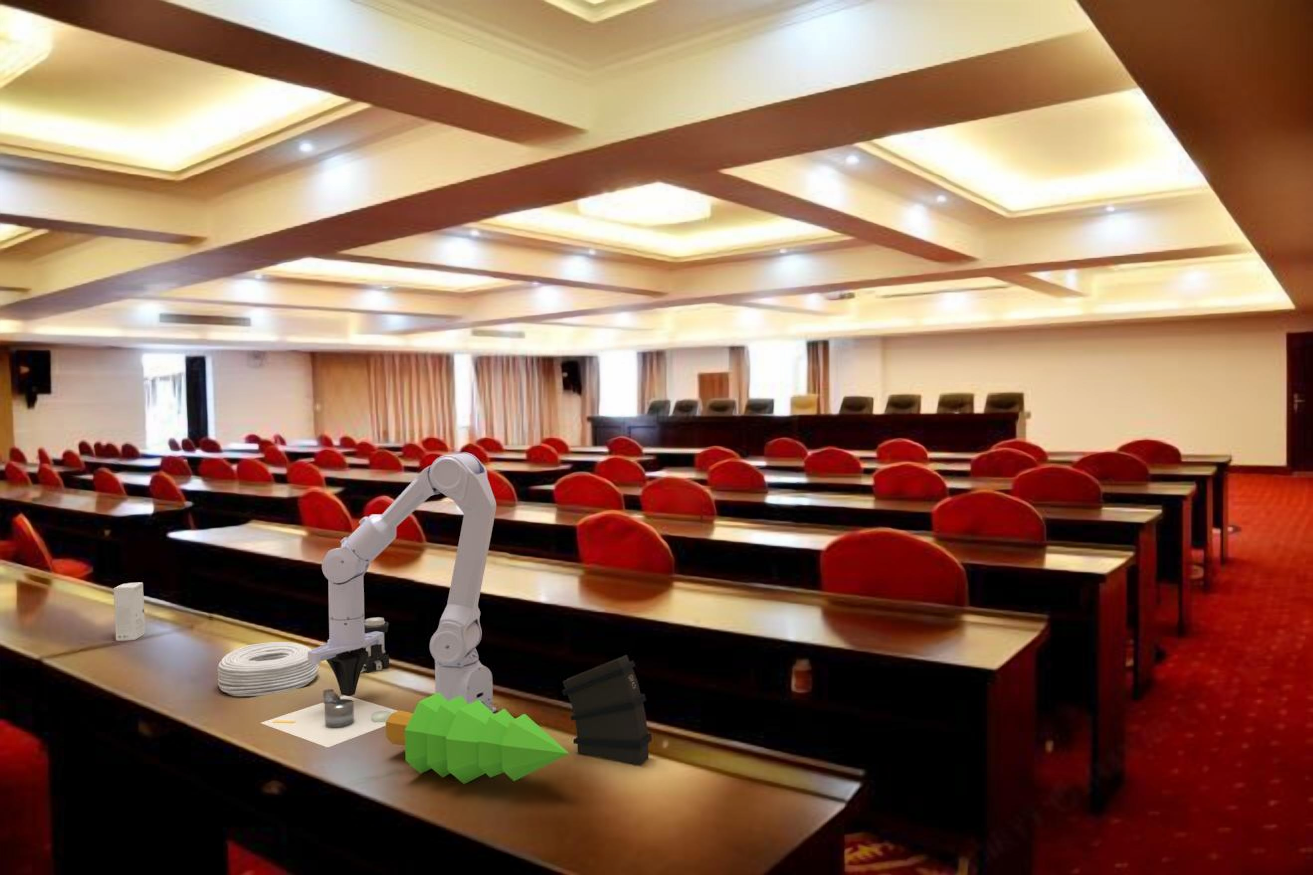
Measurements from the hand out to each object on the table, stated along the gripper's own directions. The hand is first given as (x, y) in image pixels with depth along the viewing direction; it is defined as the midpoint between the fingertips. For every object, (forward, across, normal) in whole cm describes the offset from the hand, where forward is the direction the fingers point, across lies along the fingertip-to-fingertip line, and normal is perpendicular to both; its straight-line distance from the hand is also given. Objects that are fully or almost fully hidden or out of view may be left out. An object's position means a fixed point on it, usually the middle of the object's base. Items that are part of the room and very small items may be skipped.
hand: (348, 694), depth 147 cm
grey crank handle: (+1, +6, +4) cm, 7 cm away
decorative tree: (+3, +11, +38) cm, 40 cm away
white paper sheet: (+3, +6, +4) cm, 8 cm away
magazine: (+3, -5, +49) cm, 50 cm away
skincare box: (+3, -8, -82) cm, 82 cm away
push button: (+3, -18, -14) cm, 23 cm away
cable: (+3, -3, -25) cm, 25 cm away
